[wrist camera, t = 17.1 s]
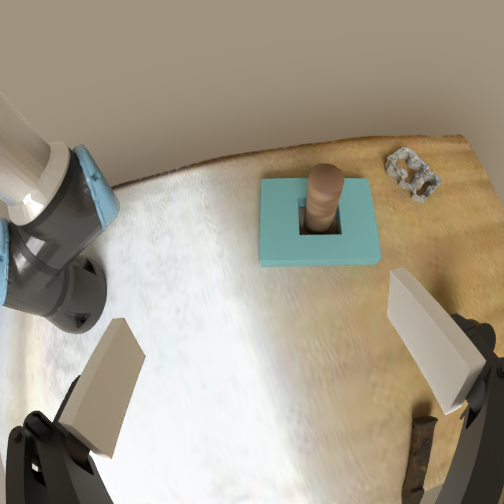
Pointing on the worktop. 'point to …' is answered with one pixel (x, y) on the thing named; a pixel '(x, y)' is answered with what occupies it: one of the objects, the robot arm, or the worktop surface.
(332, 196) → the walnut pin
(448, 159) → the worktop surface
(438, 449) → the worktop surface
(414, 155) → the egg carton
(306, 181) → the teal square-hole block
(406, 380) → the worktop surface
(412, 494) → the dark brown wooden rod
